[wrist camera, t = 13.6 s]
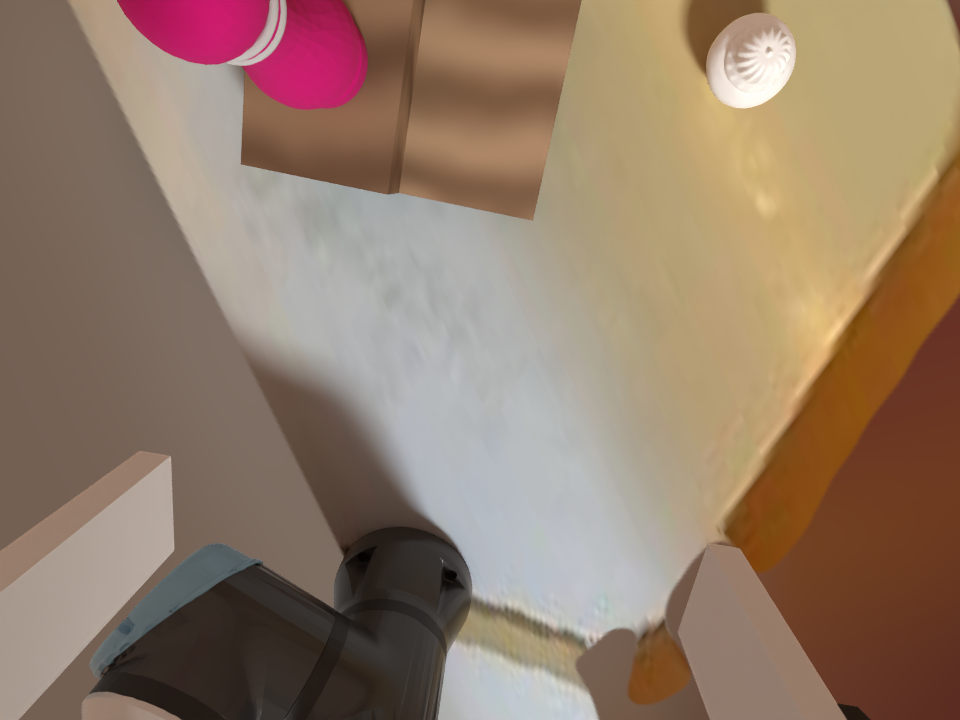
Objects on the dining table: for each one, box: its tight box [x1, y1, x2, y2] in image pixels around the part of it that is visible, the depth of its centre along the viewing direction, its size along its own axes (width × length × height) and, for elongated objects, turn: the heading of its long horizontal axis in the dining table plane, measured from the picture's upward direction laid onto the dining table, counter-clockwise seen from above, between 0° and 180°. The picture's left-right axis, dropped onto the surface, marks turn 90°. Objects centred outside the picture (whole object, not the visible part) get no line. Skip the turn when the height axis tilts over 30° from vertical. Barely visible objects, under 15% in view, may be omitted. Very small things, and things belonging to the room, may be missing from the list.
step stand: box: [241, 0, 581, 220], centre depth 41 cm, size 16×22×8 cm
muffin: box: [706, 13, 796, 108], centre depth 39 cm, size 6×6×7 cm
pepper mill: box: [117, 0, 368, 110], centre depth 27 cm, size 7×7×20 cm
